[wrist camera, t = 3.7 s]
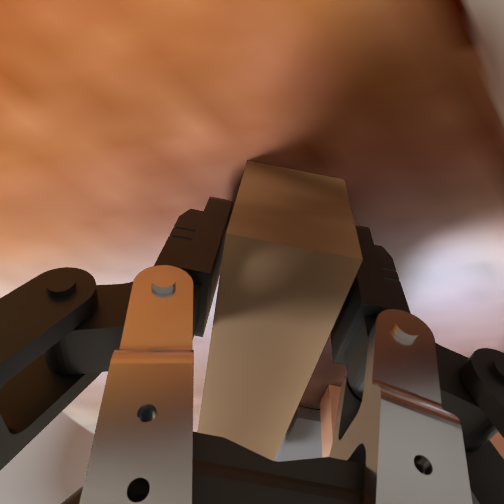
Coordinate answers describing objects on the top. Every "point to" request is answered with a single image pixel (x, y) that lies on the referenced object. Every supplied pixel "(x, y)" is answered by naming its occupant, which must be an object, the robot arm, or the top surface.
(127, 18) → the top surface
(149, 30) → the top surface
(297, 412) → the mat
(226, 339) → the block
